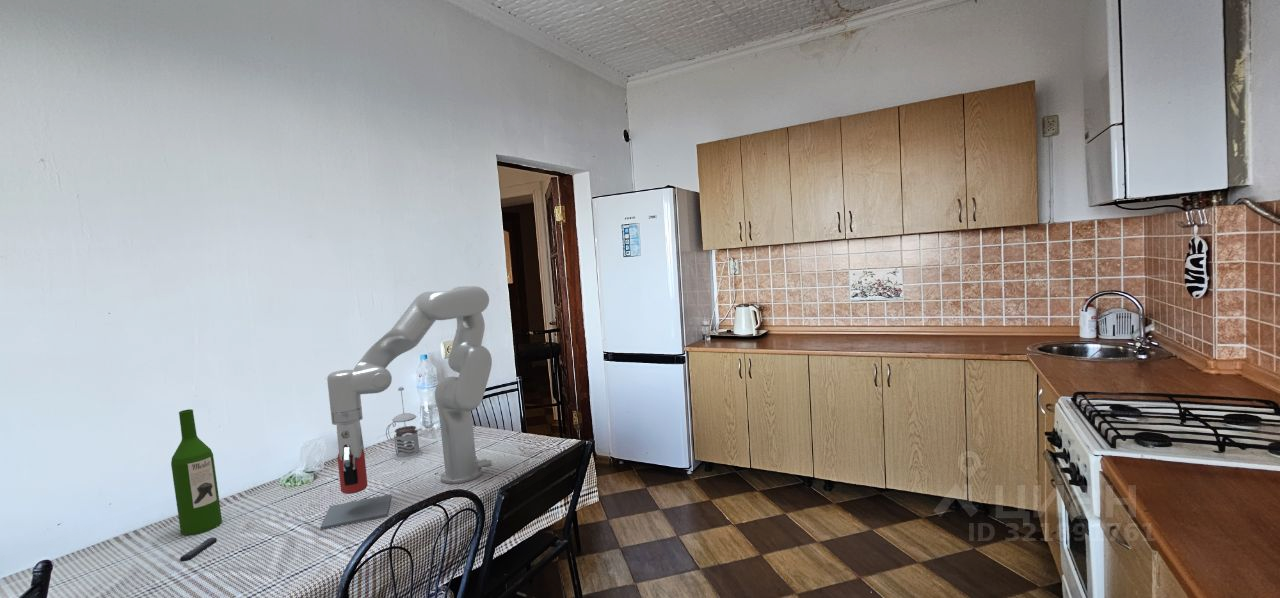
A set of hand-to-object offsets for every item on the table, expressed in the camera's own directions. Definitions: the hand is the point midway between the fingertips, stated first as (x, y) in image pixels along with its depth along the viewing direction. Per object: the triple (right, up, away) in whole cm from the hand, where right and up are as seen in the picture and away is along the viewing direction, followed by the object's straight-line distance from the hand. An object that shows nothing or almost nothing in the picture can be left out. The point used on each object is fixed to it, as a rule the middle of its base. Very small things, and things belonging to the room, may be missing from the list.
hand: (353, 479), depth 154 cm
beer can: (0, -3, 0) cm, 3 cm away
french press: (-5, -7, +46) cm, 47 cm away
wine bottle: (-41, -13, -1) cm, 43 cm away
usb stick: (-31, -14, -15) cm, 37 cm away
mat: (+1, -10, +1) cm, 10 cm away
